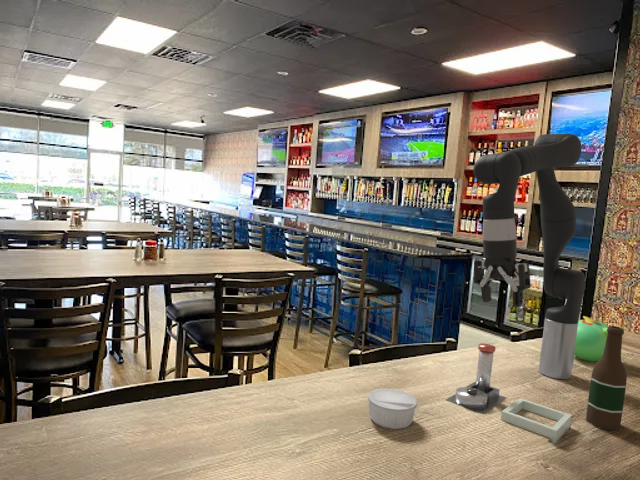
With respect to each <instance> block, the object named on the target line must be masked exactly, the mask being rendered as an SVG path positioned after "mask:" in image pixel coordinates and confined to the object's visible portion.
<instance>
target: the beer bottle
mask: <svg viewBox="0 0 640 480" xmlns="http://www.w3.org/2000/svg"><path fill="white" fill-rule="evenodd" d="M607 326H608V325H607ZM620 327H621V326H616V325H615V326H614V325H609V326H608V328H607V332H608V334H607V339H606V344H605V349H604V353H603V356H602V358H601V359H600V360H599V361H596V363H595V365H594V367H593V368H592V373H591V378H590V382H589V383H590V384H589V390H588V391H589V392H588V398H587V407H586V414H585V415H586V416H585V421H586V422H587V423H589V424H590V425H592V426H593V427H595V428H598V429H599V428H600V429H602V430H605V431H619V430H620V428H621V424H622V419H623V418H622V417H623V410H624V403H625V396H626V395H625V394H626V388H627V382H628V380H627V379H628V376H627V375H628V374H627V370H626V367H625V365H624V364H623V362H622V347H623V346H622V345H623V344H622V343H623V335H624V334H625V330H624V329H623V328H624V327H623V328H620Z"/></svg>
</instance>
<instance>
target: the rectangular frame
mask: <svg viewBox="0 0 640 480" xmlns="http://www.w3.org/2000/svg"><path fill="white" fill-rule="evenodd" d="M521 410H524V411H527V412H531V413H534V414H536V415H538V416H542V417H545V418H547V419H551V420H554V421H557V422H556V423H555V424H554V425H553V426H550V425H547V424H544V423H541V422H539V421H537V420H533V419H531V418H528V417H525V416H521V415H520V414H517V413H519V412H520V411H521ZM500 414H501V415H500V420H501V421H503V422H505V423H508V424H512V425H514V426H517V427H519V428H521V429H525V430H527V431H530V432H532V433H536V434H538V435H541V436H544V437H547V438H549V439H548V440H547V442H548V443H550V444H553V445H555V444H557V442H558V441H560V439H561V438H562V437H563V436H564V435H565V433H566V432H568V431H569V429H570V428H571V423H572V418H573V417H572V414H570V413H567V412H564V411H560V410H558V409H555V408H551V407H548V406H545V405H543V404H541V403H536V402H534V401H531V400H528V399H524V398H521V397H520V398H518V399H516V401H514V402H512V403H511V404H510V405H509V406H507V407H505V408H504V409H503V410H502V411H501V413H500Z"/></svg>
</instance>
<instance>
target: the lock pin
mask: <svg viewBox="0 0 640 480" xmlns="http://www.w3.org/2000/svg"><path fill="white" fill-rule="evenodd" d="M477 348H478V350H479V351H478V358H477V359H478V360H477V368H476V378H475V382H476V385H475V389H478V390H481V391H483V392H485V393H489V389H490V386H491V380H492V379H491V378H492V371H493V370H492V369H493V363H494V353H495V352H496V349H497V348H496V346H495V345H493V344H489V343H478V346H477Z"/></svg>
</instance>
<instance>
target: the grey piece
mask: <svg viewBox="0 0 640 480" xmlns="http://www.w3.org/2000/svg"><path fill="white" fill-rule="evenodd" d="M475 385H476V381H474V382H472V383H471V384H469V385H467V386H465V387H464V386H462V387H458V388H456V390H455V394H453V395H451V396H450V397H448V398H446V399H445V401H446V402H449V403H452V404H454V405H458V406H460V407H462V408H465V409H468V410H469V411H470V410H471V411H473V412H476V413H478V414H481V415H484V414H486V413H487V412H489V411H490V410H492V409H493V408H495V407H496V406H498V405H499V404H500V403H502V402H504V400H506V399H507V397H506V396H504V395H500V391H501V390H500V388H496V387H494V386H491V385H490V389H489V393H485V392H483V391H481V390H478V389H475Z"/></svg>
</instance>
